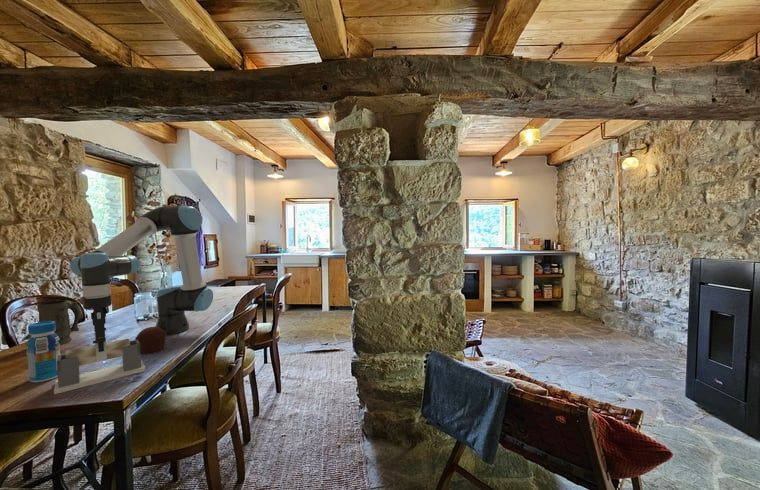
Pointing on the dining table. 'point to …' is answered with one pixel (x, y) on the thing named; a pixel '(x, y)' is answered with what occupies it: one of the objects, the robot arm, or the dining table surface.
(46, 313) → the beer stein
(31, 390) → the dining table surface
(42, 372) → the beverage bottle
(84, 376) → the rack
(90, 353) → the rail
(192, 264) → the robot arm
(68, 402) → the dining table surface
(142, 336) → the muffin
